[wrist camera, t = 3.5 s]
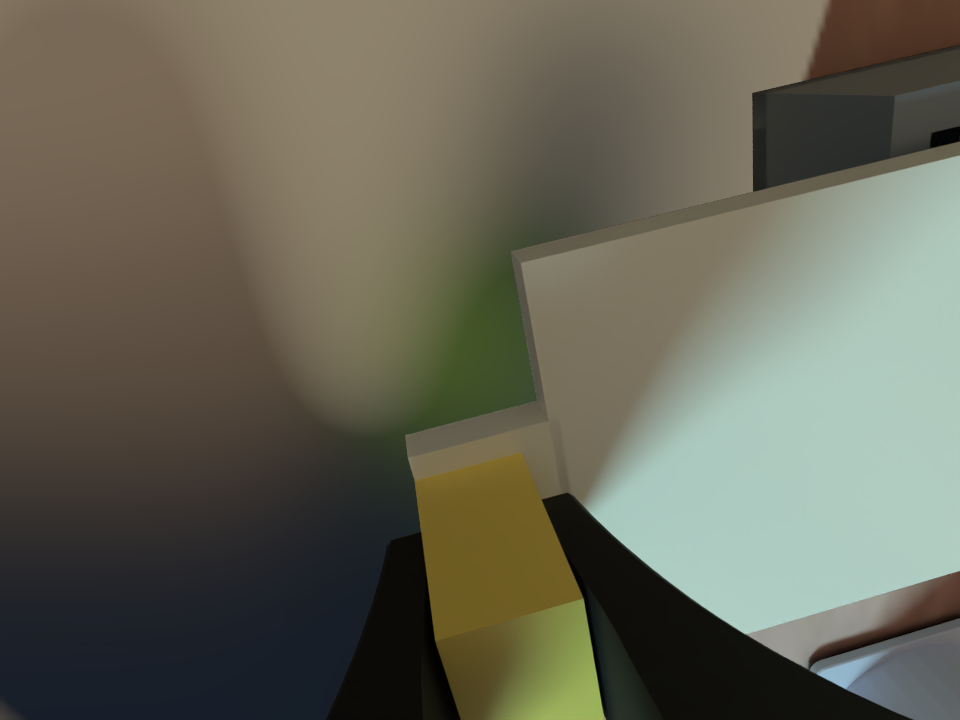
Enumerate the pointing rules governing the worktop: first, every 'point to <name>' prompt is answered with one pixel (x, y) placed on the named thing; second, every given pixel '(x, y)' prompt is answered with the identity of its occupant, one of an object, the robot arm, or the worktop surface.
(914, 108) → the tub
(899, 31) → the worktop surface
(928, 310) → the lid
